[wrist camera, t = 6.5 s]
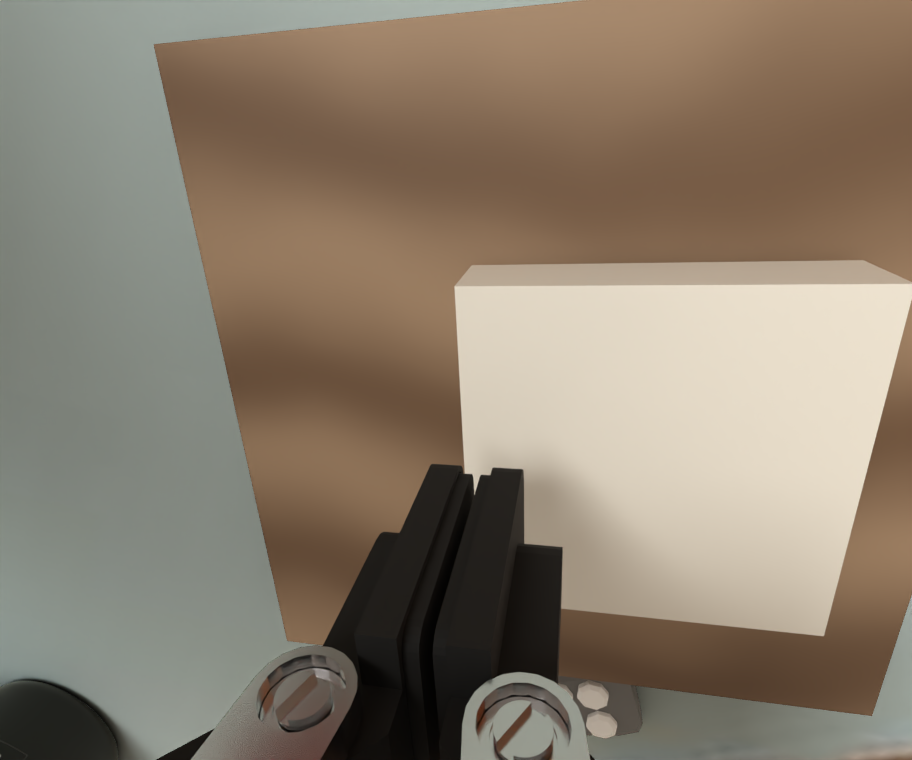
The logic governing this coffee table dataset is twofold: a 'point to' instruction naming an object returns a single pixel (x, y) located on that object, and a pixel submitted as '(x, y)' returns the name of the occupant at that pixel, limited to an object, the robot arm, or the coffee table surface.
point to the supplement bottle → (50, 725)
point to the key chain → (605, 706)
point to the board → (535, 261)
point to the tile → (683, 425)
